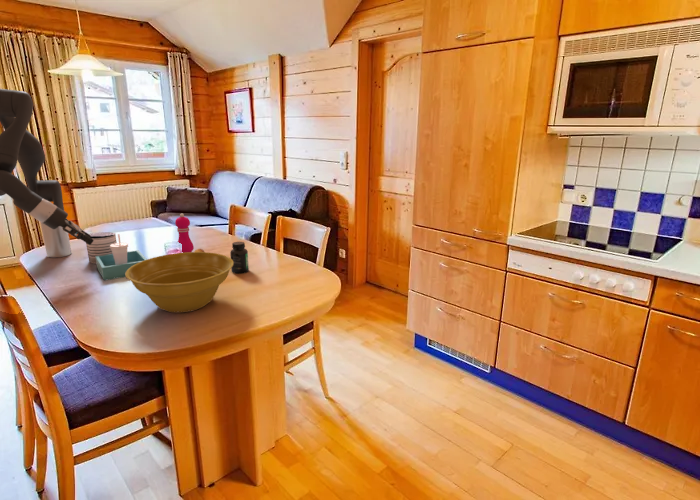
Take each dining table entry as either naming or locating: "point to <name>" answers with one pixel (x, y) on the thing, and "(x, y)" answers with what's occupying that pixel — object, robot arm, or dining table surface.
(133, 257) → the tote
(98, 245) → the can
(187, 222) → the pepper mill
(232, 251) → the supplement bottle
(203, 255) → the planter bowl
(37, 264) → the dining table surface
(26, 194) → the robot arm
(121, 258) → the smoothie
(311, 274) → the dining table surface
